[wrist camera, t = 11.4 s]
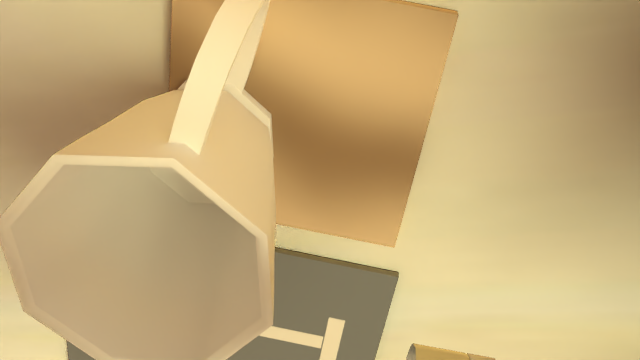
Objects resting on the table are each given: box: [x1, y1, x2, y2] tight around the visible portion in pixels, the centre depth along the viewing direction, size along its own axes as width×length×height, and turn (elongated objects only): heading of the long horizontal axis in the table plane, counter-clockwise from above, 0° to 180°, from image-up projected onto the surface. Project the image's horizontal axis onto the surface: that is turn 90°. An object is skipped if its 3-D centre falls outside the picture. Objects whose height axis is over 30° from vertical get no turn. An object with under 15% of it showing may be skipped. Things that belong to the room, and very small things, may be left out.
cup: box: [0, 0, 276, 360], centre depth 17 cm, size 7×10×8 cm
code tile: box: [67, 248, 399, 360], centre depth 27 cm, size 13×14×1 cm
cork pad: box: [169, 0, 458, 247], centre depth 21 cm, size 9×9×1 cm
